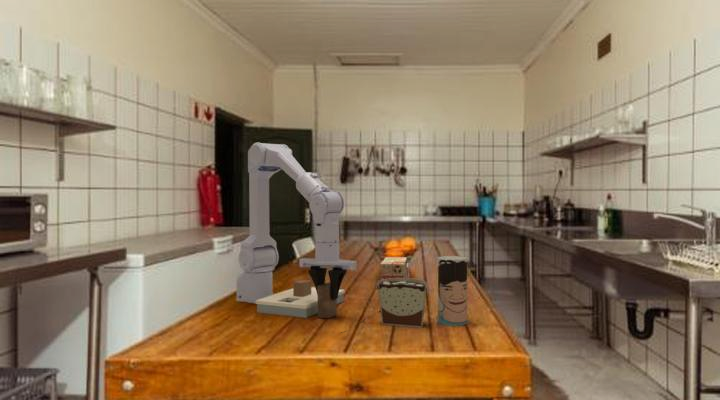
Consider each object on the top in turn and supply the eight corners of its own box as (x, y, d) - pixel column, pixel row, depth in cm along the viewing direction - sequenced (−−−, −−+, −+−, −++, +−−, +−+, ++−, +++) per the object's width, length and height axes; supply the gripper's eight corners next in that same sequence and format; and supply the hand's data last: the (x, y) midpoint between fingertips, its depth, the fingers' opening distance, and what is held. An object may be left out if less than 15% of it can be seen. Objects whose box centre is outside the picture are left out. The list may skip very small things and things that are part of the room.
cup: (436, 324, 120) (435, 259, 120) (440, 317, 127) (440, 255, 126) (465, 326, 118) (465, 260, 118) (468, 319, 125) (468, 256, 124)
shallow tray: (257, 315, 130) (257, 303, 130) (299, 299, 148) (299, 289, 148) (306, 321, 124) (305, 308, 124) (343, 303, 142) (343, 292, 142)
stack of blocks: (388, 293, 156) (388, 252, 156) (409, 294, 155) (409, 252, 155) (380, 310, 135) (379, 262, 135) (404, 311, 134) (404, 263, 134)
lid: (255, 303, 130) (255, 286, 130) (299, 288, 149) (298, 273, 148) (306, 308, 124) (306, 290, 124) (345, 292, 142) (345, 277, 142)
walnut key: (317, 317, 124) (317, 285, 124) (325, 313, 128) (325, 282, 128) (328, 318, 123) (328, 286, 123) (336, 314, 127) (336, 283, 126)
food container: (433, 321, 123) (433, 279, 123) (428, 328, 117) (428, 283, 117) (383, 317, 127) (383, 276, 127) (376, 323, 121) (375, 280, 121)
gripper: (292, 242, 125) (293, 299, 125) (347, 244, 119) (347, 304, 119) (307, 239, 131) (308, 293, 131) (360, 241, 125) (360, 298, 125)
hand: (327, 298), depth 126 cm, fingers closed on walnut key, 3 cm apart
